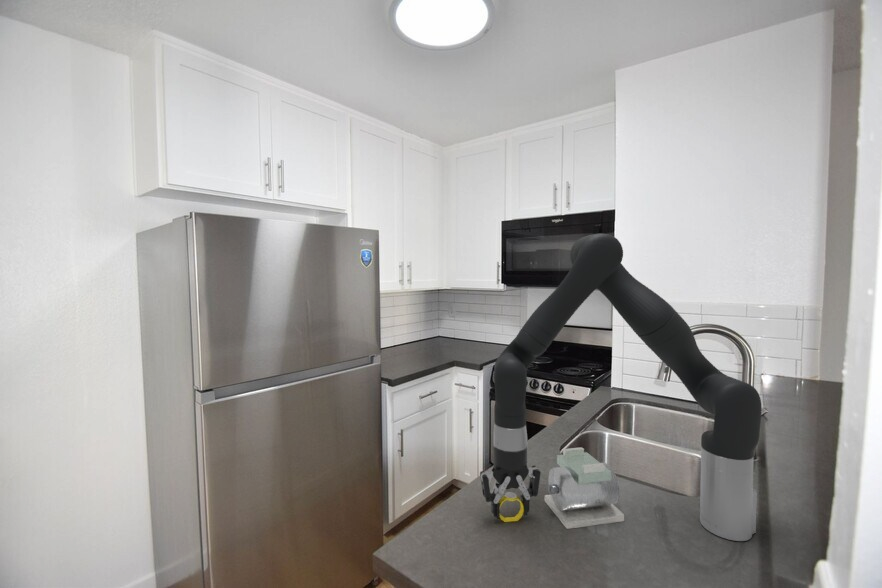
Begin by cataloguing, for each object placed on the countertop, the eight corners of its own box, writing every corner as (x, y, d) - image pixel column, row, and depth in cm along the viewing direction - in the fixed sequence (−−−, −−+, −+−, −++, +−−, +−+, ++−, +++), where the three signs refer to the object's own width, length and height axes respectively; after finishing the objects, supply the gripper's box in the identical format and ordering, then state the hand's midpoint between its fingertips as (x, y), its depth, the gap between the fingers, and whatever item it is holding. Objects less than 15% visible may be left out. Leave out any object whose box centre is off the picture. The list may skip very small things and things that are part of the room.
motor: (596, 494, 99) (596, 444, 99) (624, 521, 88) (624, 464, 88) (539, 501, 96) (539, 449, 96) (560, 529, 86) (560, 471, 85)
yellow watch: (520, 516, 91) (522, 491, 91) (524, 524, 88) (526, 498, 88) (495, 517, 90) (496, 491, 90) (498, 524, 88) (500, 498, 87)
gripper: (533, 433, 94) (533, 502, 94) (474, 438, 91) (475, 509, 92) (547, 447, 86) (547, 521, 87) (484, 452, 84) (484, 529, 84)
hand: (510, 515), depth 89 cm, fingers closed on yellow watch, 6 cm apart
